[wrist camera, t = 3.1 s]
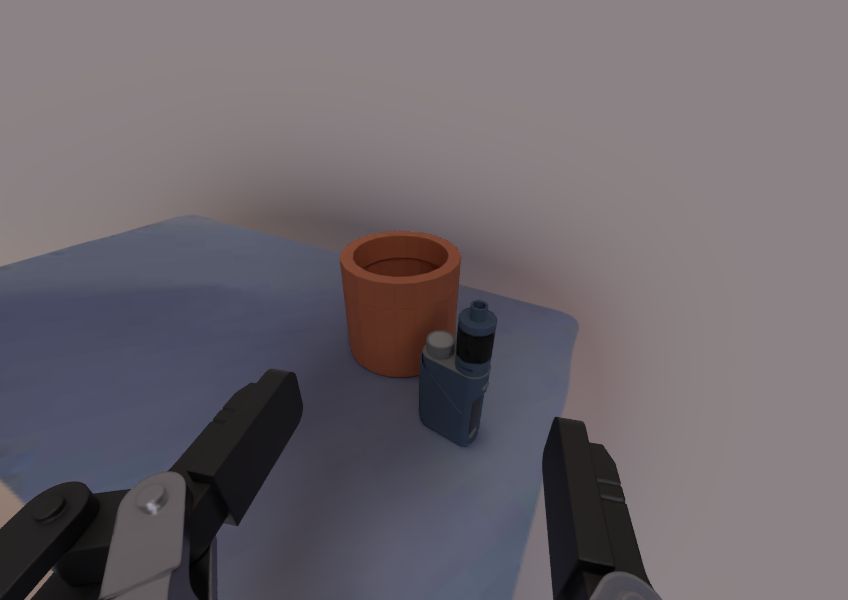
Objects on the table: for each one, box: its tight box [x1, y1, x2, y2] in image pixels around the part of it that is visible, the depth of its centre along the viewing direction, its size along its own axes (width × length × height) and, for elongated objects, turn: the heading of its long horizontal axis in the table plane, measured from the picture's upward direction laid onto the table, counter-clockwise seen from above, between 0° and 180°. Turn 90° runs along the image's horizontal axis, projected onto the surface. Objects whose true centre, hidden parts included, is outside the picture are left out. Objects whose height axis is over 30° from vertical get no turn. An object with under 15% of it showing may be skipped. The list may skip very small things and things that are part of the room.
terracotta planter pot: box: [340, 231, 461, 377], centre depth 35 cm, size 11×11×10 cm
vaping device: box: [419, 300, 497, 447], centre depth 26 cm, size 3×5×12 cm, turn 54°
